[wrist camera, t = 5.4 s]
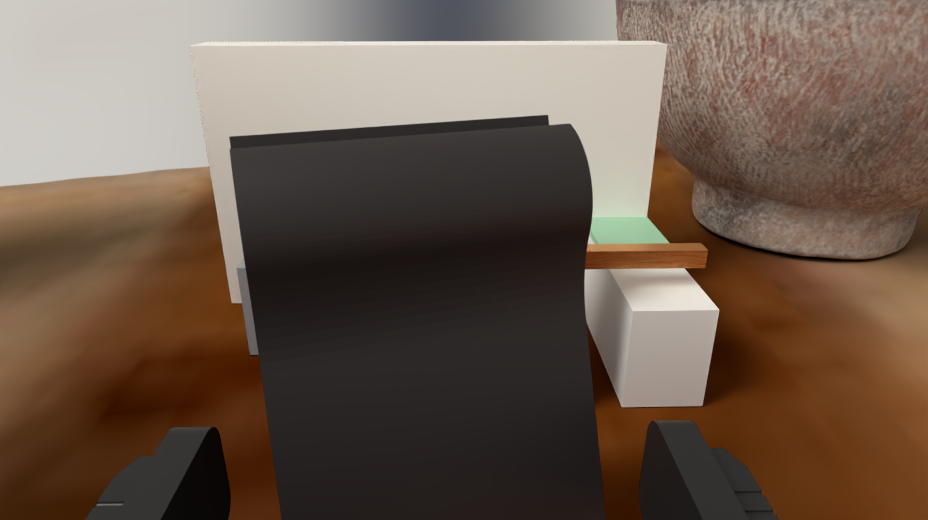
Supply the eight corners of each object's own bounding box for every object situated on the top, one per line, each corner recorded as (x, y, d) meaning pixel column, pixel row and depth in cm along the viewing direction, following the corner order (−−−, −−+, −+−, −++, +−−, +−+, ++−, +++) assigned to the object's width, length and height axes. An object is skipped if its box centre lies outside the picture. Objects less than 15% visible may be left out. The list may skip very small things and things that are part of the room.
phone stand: (626, 752, 13) (719, 182, 8) (327, 874, 11) (225, 237, 6) (476, 463, 21) (479, 86, 16) (287, 508, 19) (228, 99, 14)
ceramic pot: (1145, 267, 35) (1396, -273, 26) (821, 363, 26) (1022, -408, 17) (779, 161, 56) (842, -156, 47) (531, 194, 47) (548, -188, 38)
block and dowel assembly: (291, 416, 23) (262, 202, 19) (307, 369, 25) (285, 175, 22) (708, 409, 23) (747, 198, 20) (680, 364, 26) (710, 172, 23)
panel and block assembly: (156, 414, 23) (75, 72, 18) (243, 285, 33) (206, 41, 28) (702, 405, 23) (762, 69, 19) (626, 281, 33) (653, 40, 29)
